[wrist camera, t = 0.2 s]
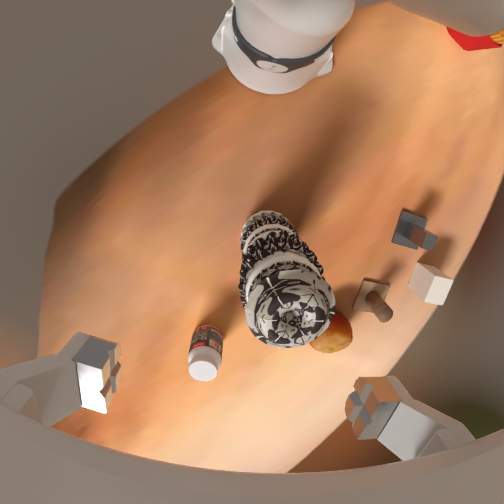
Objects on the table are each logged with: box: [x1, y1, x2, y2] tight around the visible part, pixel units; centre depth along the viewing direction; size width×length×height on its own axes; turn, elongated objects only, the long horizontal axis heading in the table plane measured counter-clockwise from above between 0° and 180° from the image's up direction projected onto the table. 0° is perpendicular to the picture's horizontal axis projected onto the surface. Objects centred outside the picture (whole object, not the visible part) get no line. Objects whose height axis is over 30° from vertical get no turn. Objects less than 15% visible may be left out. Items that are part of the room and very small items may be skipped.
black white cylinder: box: [238, 210, 335, 348], centre depth 36 cm, size 9×9×25 cm
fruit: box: [309, 312, 353, 353], centre depth 52 cm, size 8×8×8 cm
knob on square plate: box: [352, 280, 393, 323], centre depth 50 cm, size 6×6×7 cm
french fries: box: [446, 27, 504, 51], centre depth 29 cm, size 9×4×13 cm, turn 58°
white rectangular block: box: [407, 262, 453, 305], centre depth 49 cm, size 5×5×7 cm
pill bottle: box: [188, 325, 223, 381], centre depth 49 cm, size 6×6×10 cm
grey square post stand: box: [391, 210, 438, 251], centre depth 45 cm, size 6×6×7 cm
